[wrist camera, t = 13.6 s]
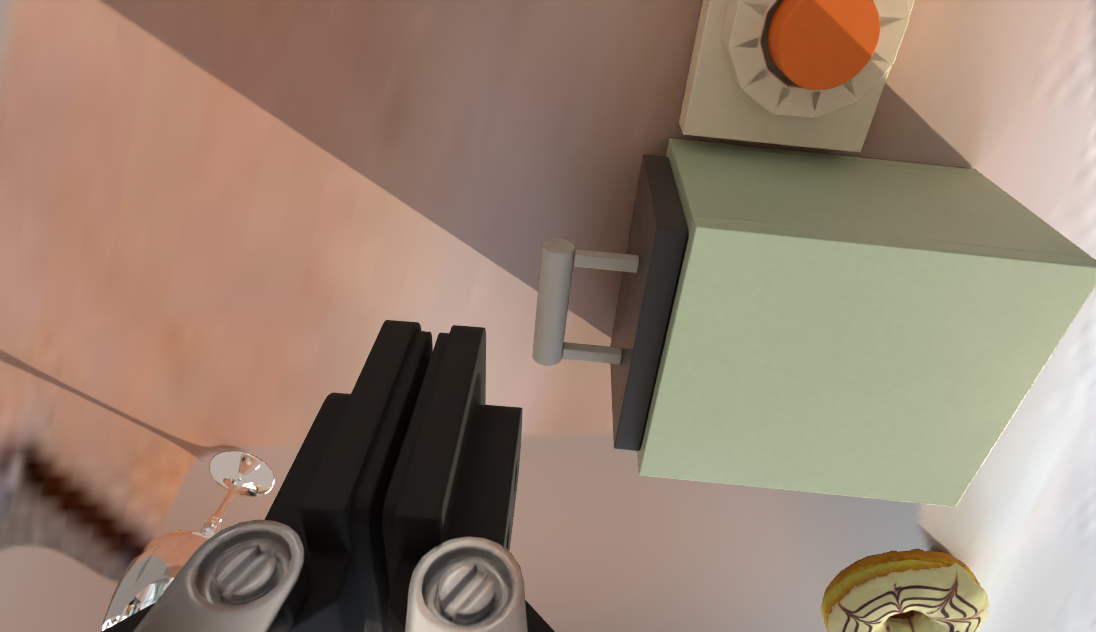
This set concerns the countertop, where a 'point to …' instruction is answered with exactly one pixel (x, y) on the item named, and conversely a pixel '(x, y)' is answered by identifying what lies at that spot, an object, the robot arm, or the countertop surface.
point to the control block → (778, 82)
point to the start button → (823, 40)
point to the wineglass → (185, 537)
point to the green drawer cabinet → (851, 323)
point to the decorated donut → (905, 595)
